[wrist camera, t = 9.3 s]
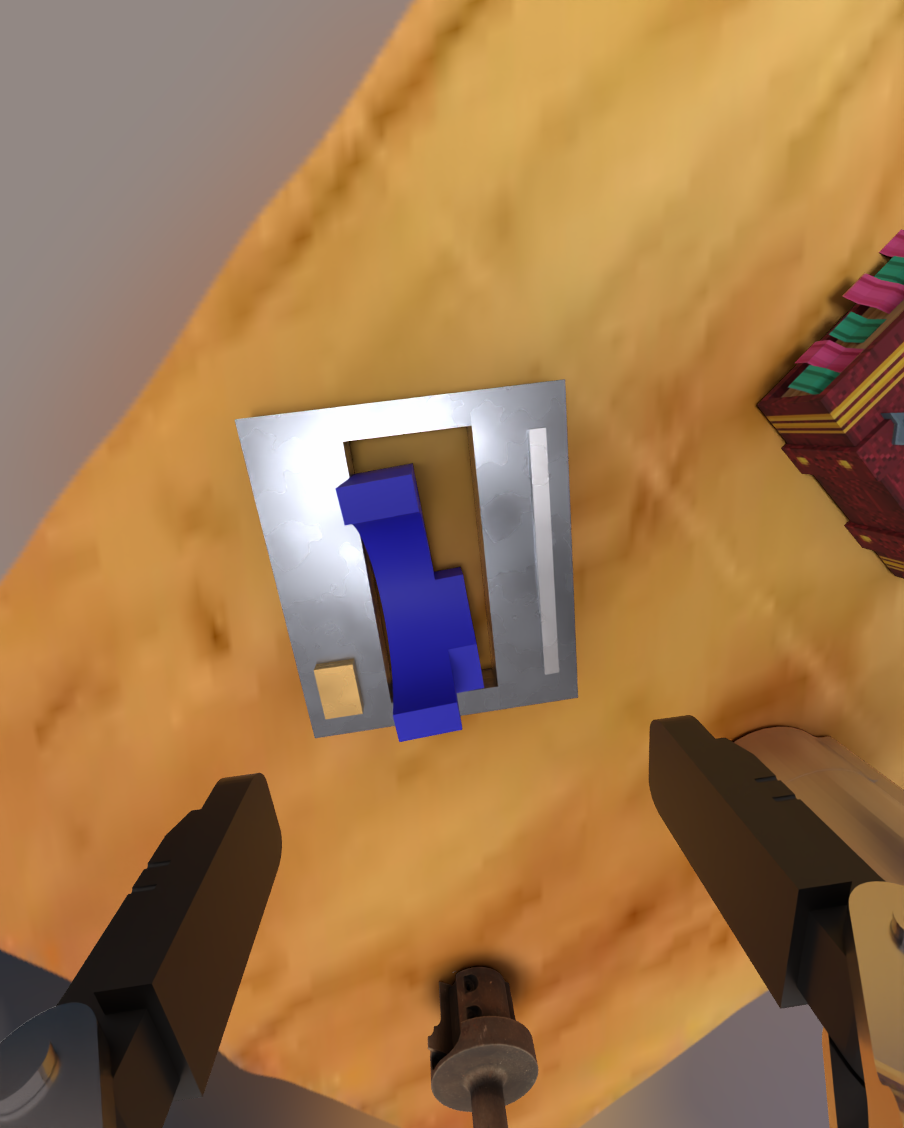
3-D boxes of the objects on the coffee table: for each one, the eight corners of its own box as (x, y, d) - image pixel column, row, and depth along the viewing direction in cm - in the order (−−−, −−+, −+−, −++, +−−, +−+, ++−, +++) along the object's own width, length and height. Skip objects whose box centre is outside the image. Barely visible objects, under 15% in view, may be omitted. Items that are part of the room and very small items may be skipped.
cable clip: (476, 660, 27) (493, 723, 21) (402, 674, 26) (399, 742, 21) (441, 457, 23) (449, 467, 17) (355, 473, 23) (335, 488, 17)
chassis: (551, 383, 22) (569, 378, 20) (566, 678, 27) (581, 703, 25) (250, 420, 22) (229, 419, 19) (322, 716, 27) (312, 745, 24)
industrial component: (406, 995, 34) (403, 1278, 23) (464, 937, 33) (491, 1206, 22) (498, 1034, 37) (537, 1309, 25) (556, 981, 35) (624, 1245, 24)
